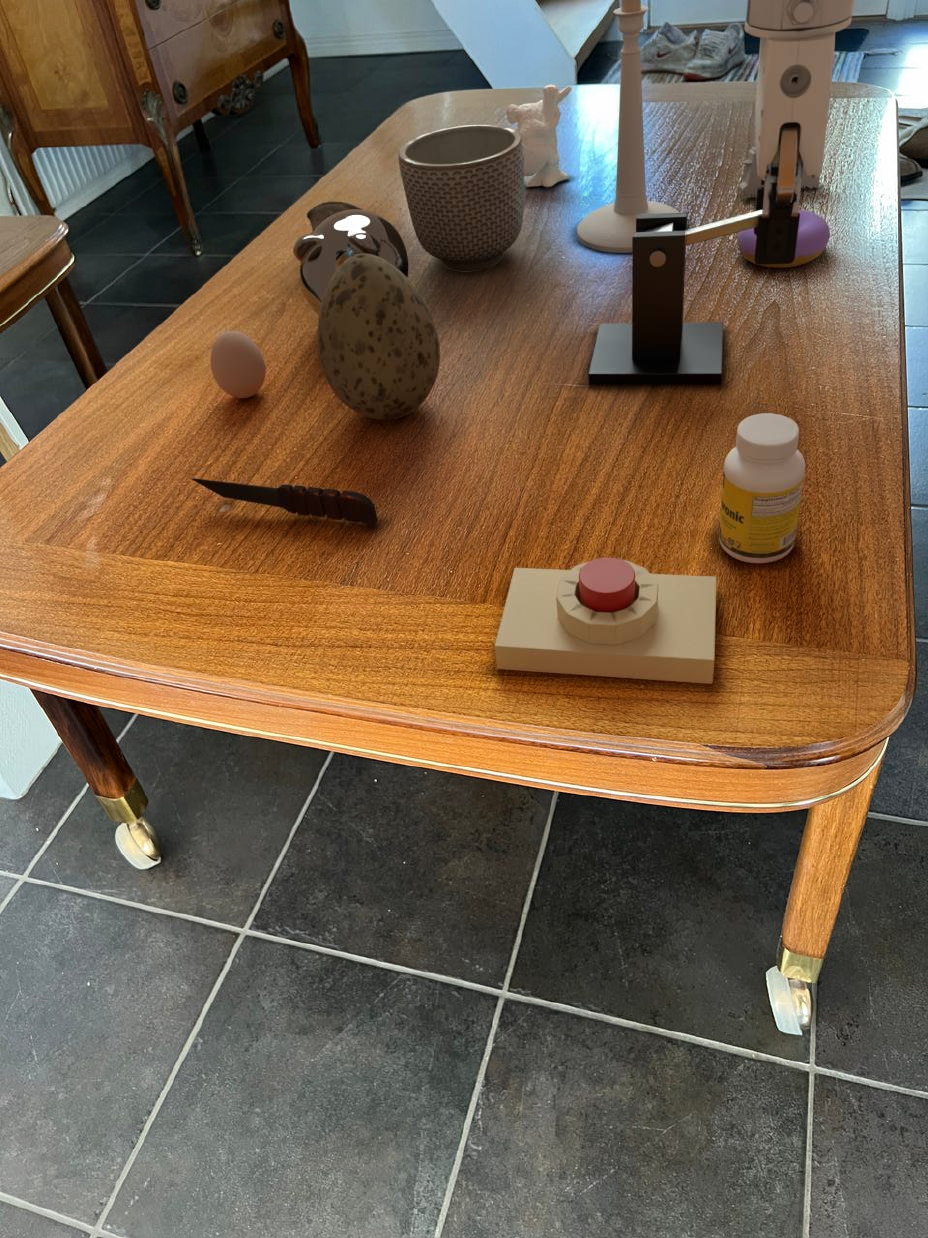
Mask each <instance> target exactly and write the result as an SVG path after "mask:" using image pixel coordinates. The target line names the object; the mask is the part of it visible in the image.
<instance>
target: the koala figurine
mask: <svg viewBox="0 0 928 1238" xmlns="http://www.w3.org/2000/svg"><path fill="white" fill-rule="evenodd" d="M572 89H573V88H572V86H571V85H567V86H565V87H564V88H563V89H562V90H560V89H559V87H558V86H556V85H554V84H551V83H550V84H547V85H546V86H544V87H542V99H541V100H539V101H537V102H532V103H523V104H521V105H519V106H518V105H516V104H515V103H512V104H509V105H508V106H507V107H506V119H507V122H508V123H509V124H512V125H513V124H516V125H517V129H516V131H518V132H519V133H520V134H521V136H522V140H523V145H524V177H530V178H528V179H527V180H526V181H525V182H524V185H525V186H526V187H528V188H530V187H531V188H533V187H540V186H543V187H545V188H549V187H550V188H551V187H553V186H554V185H555V184H557V183H559V182H562V181H563V182H564V181H566V180H569V179H570V176H569V175H568V174H567V173H566V172H564V171H562V170H561V169H560V162H561V159H560V155H559V149H558V135H557V127H558V125H559V123H560V120H561V116H562V115H561V114H562V111H561V108H560V105H559V104H560V103H562V101H563V100H564V99H565V98H567V96H569V94H570V93H571V91H572ZM559 90H560V91H559Z"/></svg>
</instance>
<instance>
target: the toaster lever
mask: <svg viewBox="0 0 928 1238" xmlns="http://www.w3.org/2000/svg"><path fill="white" fill-rule="evenodd" d="M759 214H762V210H758V211H756V210H754V211H751V212H748V213H744V214H740V215H736V216H733V217H729V218H726V219H722V220H718V221H714V222H711V223H707V224H703V225H700V226H695V227H692V228H687V230H684V231H685V246H686V247H687V246H691V245H694V244H698V243H703V242H705V241H710V240H713V239H714V240H715V239H718V238H721V237H725V236H728V235H733V234H736V233H739V232H740V231H744V230H748V229H752V228H756V227H757V226H758V215H759ZM662 231H675V228H674V223H671V224H667V225H663V226H660V227H656V228H652V229H649V230H645V231H642V232H662Z"/></svg>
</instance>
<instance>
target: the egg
mask: <svg viewBox="0 0 928 1238" xmlns="http://www.w3.org/2000/svg"><path fill="white" fill-rule="evenodd" d="M210 369H211V373H212V376H213V379H214V381H215V382H216V384H217V386H218V387H219V388H220V390H222V391H223V392H224V393H226V394H227V395H229V396H232V397H233V398H237V399H248V398H251V397H253V396H255V395H256V394H257V393H258V392H259V391H260V389H261V388H262V386H263V384H264V382H265V379H266V373H267V372H266V370H267V369H266V362H265V359H264V357H263V354H262V352H261V351H260V348H259V347H258V346H257V344H256V343H255V342H254V341H253V340H252V338H250V337H249V336H248V335H246V334H245V333H243V332H241V331H237V330H226V331H224V332H222V333H220V334H219V335H218V336H217V337H216V338H215V341H214V342H213V344H212V346H211V352H210Z"/></svg>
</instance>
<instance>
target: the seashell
mask: <svg viewBox="0 0 928 1238" xmlns="http://www.w3.org/2000/svg"><path fill="white" fill-rule="evenodd" d="M351 209H361V210H363V209H362V208H360V207H358V206H356V205H353V204H351V203H349V202H344V201H326V202H322V203H320V204H318V205H316V206H314V207H312V208H310V210H309V211H307V213H306V218H307V219H308V220H309V222H310V226H311V230H312V231H313V230H314V229H315V228H316V227H317V226H318V225H319V224H320V223H321V222H322V221H323V220H325V219H326V218H327V217H329V216H331V215H333V214H335V213H338V212H341V211H345V210H351Z"/></svg>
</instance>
